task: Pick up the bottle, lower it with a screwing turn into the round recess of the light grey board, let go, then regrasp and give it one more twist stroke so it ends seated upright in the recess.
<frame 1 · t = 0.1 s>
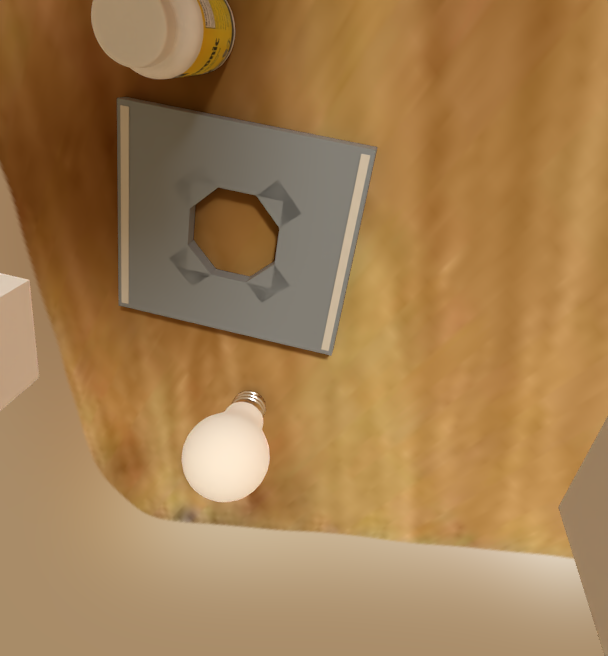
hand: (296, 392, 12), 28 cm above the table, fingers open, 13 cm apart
supplement bottle: (198, 28, 35), on the table
light bulb: (253, 398, 48), on the table
socket board: (237, 231, 41), on the table
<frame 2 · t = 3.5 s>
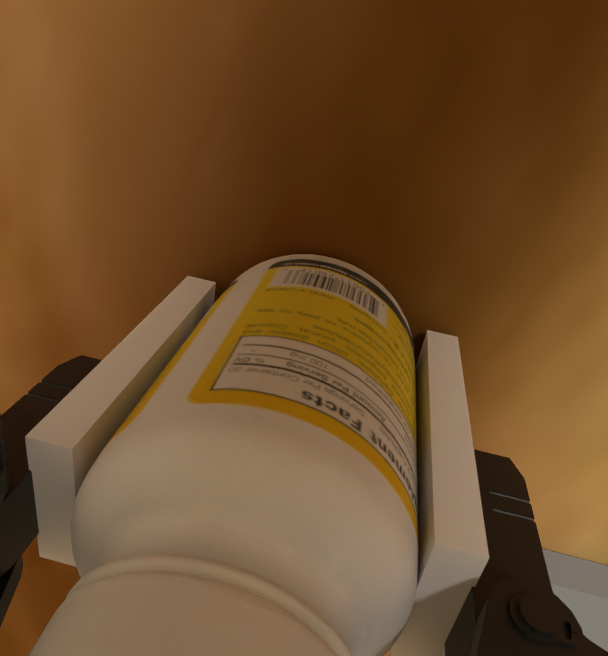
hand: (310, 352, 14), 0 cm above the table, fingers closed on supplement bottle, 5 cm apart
supplement bottle: (314, 342, 14), on the table, touching gripper
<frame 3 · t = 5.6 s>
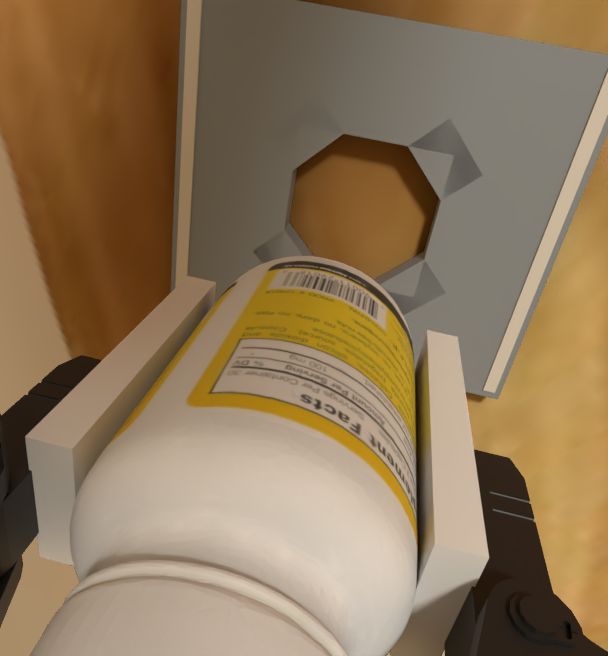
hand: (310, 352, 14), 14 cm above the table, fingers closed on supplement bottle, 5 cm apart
supplement bottle: (313, 344, 14), point 13 cm above the table, touching gripper
socket board: (361, 208, 26), on the table
when the fingers open (2 cm above the table, at t = 7.6 s): supplement bottle drops 2 cm, resting in socket board.
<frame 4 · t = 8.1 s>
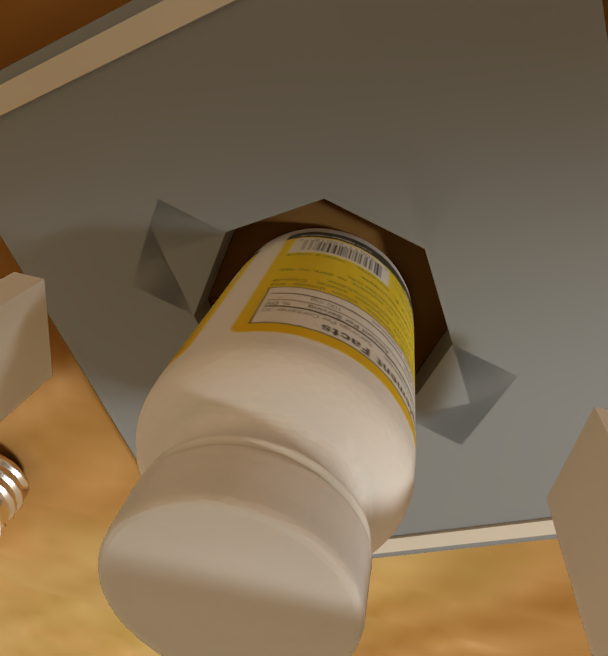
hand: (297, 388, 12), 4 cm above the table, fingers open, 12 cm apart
supplement bottle: (325, 308, 16), resting in socket board
light bulb: (12, 462, 22), on the table
socket board: (324, 311, 16), on the table
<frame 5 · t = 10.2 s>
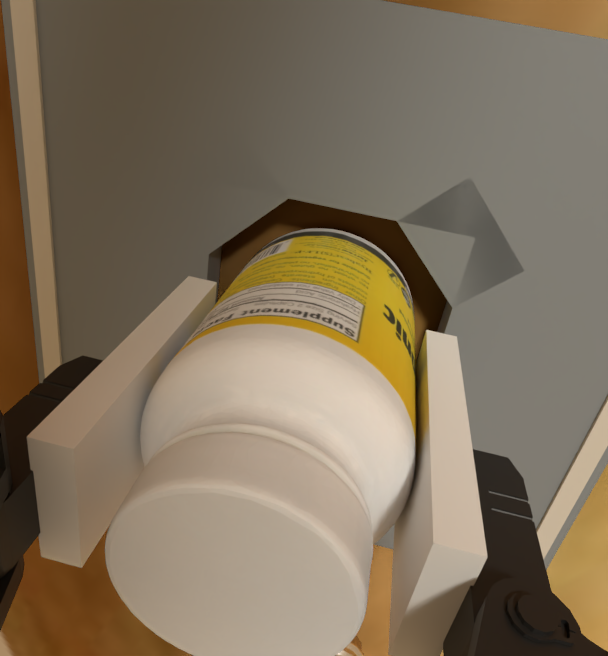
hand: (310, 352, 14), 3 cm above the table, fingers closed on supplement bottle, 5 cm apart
supplement bottle: (326, 306, 17), resting in socket board, touching gripper
light bulb: (333, 623, 23), on the table
socket board: (325, 307, 16), on the table
when the fingers open (4 cm above the table, at t = 11.8 s): supplement bottle drops 1 cm, resting in socket board.
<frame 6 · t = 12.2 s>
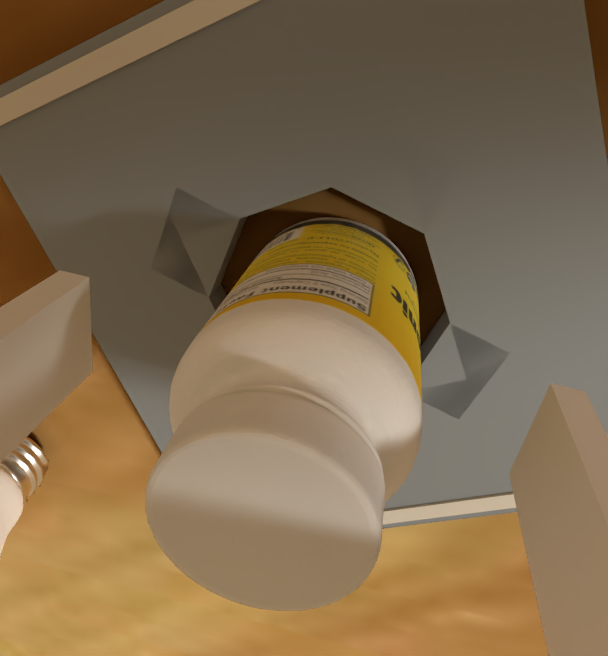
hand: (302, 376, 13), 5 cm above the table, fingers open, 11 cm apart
supplement bottle: (335, 292, 17), resting in socket board
light bulb: (31, 442, 23), on the table
socket board: (330, 294, 17), on the table
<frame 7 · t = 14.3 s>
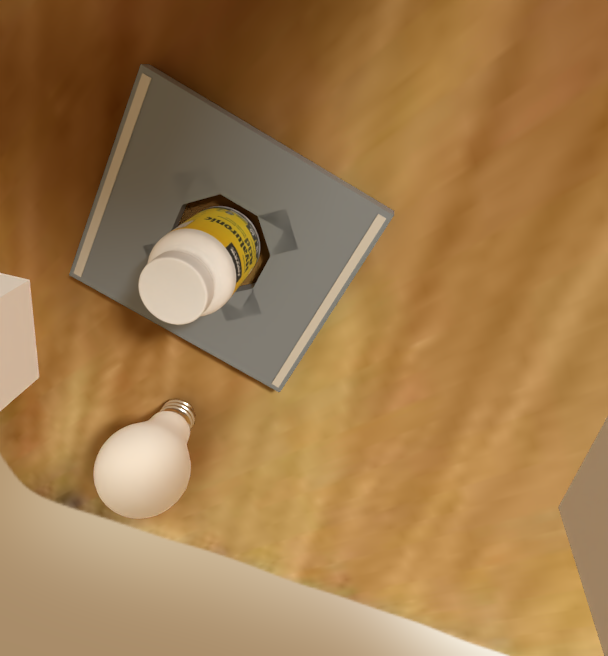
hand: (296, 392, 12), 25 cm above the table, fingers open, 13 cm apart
supplement bottle: (225, 241, 38), resting in socket board
light bulb: (183, 407, 45), on the table
socket board: (223, 242, 38), on the table
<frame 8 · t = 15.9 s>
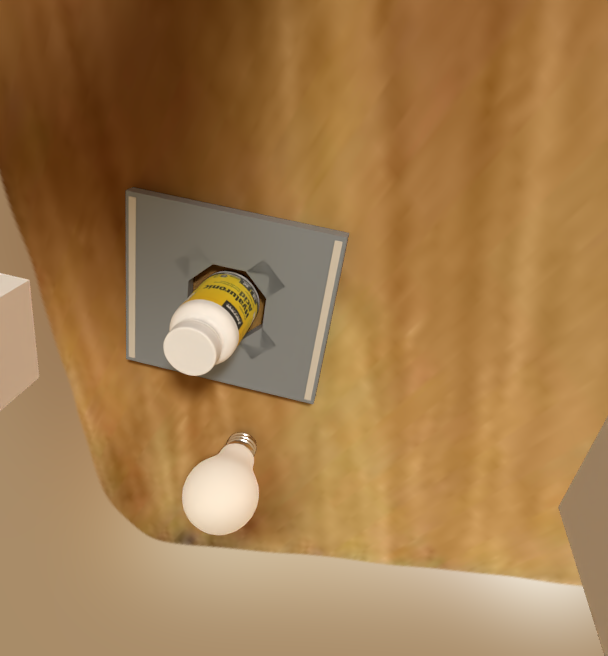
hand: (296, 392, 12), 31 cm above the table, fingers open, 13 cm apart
supplement bottle: (231, 296, 47), resting in socket board
light bulb: (245, 437, 54), on the table
socket board: (229, 298, 47), on the table
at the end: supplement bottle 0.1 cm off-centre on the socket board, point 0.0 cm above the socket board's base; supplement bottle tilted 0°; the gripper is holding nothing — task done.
